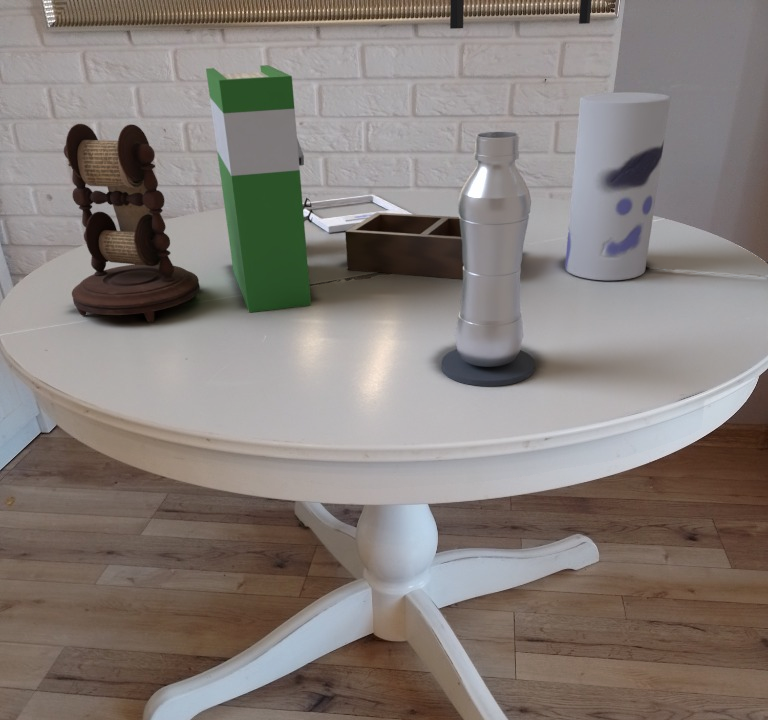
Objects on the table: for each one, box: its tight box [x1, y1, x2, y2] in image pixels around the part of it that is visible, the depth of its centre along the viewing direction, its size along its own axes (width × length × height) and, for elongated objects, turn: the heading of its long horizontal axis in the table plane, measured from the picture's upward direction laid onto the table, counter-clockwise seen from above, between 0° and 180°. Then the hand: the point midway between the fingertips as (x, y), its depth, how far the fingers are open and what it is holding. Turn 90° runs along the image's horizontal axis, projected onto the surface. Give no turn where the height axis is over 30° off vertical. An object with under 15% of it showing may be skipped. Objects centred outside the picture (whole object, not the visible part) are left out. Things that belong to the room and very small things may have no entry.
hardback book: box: [205, 64, 312, 313], centre depth 94 cm, size 18×7×24 cm, turn 15°
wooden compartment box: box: [344, 211, 464, 280], centre depth 106 cm, size 21×11×5 cm, turn 69°
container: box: [564, 91, 671, 281], centre depth 97 cm, size 10×10×20 cm
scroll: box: [63, 123, 201, 324], centre depth 91 cm, size 15×15×20 cm
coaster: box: [440, 348, 536, 387], centre depth 77 cm, size 9×9×1 cm
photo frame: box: [302, 194, 413, 234], centre depth 132 cm, size 15×1×18 cm
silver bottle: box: [454, 131, 532, 367], centre depth 71 cm, size 6×7×20 cm
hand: (518, 26), depth 84 cm, fingers open, 13 cm apart
